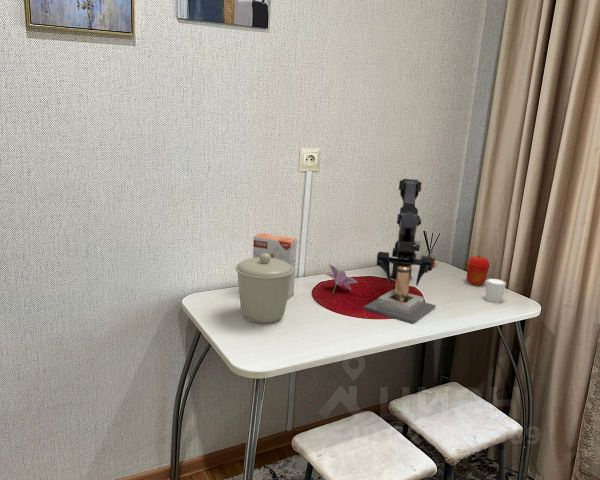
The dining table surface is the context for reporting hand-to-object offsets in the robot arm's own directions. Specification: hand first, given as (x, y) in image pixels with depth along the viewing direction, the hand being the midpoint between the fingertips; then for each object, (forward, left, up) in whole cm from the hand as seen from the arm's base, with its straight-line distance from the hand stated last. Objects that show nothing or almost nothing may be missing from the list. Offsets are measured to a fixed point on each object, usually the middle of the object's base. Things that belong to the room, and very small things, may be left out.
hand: (402, 283), depth 191 cm
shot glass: (+21, +33, -10) cm, 41 cm away
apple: (+10, +46, -10) cm, 48 cm away
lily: (-25, +2, -10) cm, 27 cm away
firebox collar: (-1, +1, -9) cm, 10 cm away
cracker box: (-41, -18, -10) cm, 45 cm away
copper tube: (-1, +1, -8) cm, 9 cm away
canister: (-31, -36, -10) cm, 48 cm away
